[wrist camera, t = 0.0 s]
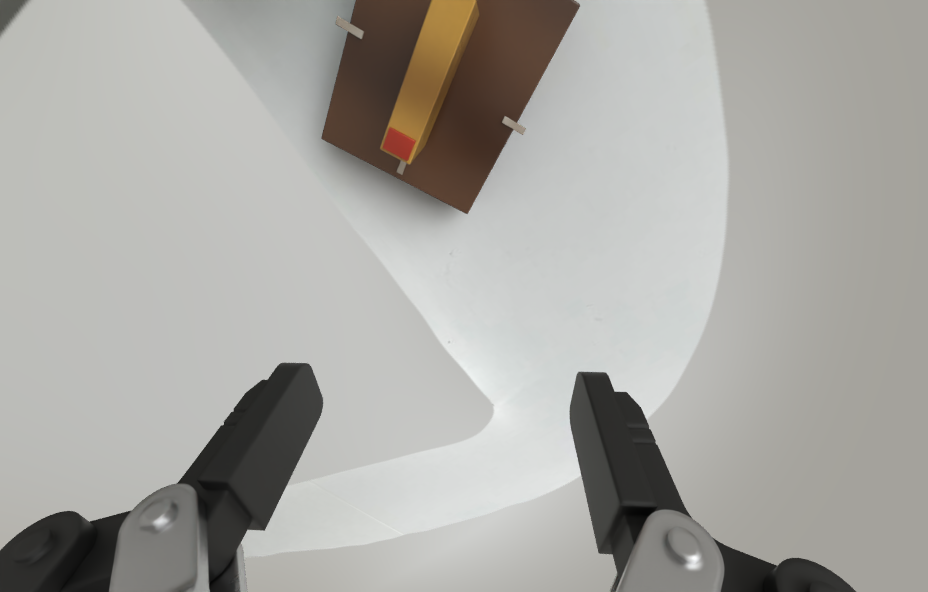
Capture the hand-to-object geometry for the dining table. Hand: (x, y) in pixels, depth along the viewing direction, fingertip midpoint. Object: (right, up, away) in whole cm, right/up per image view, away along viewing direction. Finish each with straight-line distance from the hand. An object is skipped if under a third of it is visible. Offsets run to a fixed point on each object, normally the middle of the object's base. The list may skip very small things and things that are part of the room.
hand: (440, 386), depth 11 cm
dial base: (-1, +16, +11) cm, 20 cm away
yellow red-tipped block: (-1, +15, +8) cm, 17 cm away
